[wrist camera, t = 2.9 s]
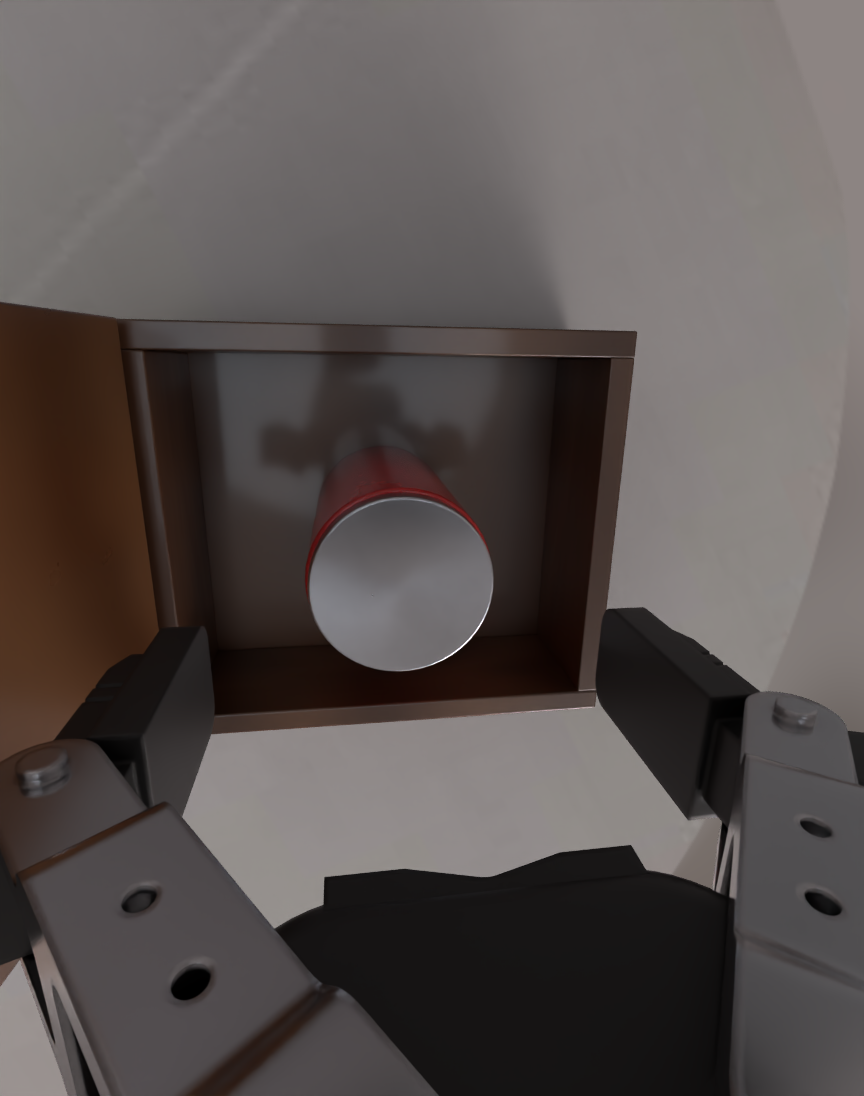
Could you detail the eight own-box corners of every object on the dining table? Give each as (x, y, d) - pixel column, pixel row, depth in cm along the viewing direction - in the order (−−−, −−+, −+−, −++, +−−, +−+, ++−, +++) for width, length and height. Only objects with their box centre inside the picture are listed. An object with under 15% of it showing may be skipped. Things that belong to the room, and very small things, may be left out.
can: (420, 426, 23) (463, 463, 15) (460, 543, 25) (520, 635, 17) (297, 472, 23) (270, 536, 15) (346, 586, 25) (347, 702, 16)
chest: (570, 338, 24) (638, 331, 19) (546, 641, 28) (595, 708, 23) (168, 329, 22) (109, 318, 16) (205, 658, 26) (167, 738, 20)
